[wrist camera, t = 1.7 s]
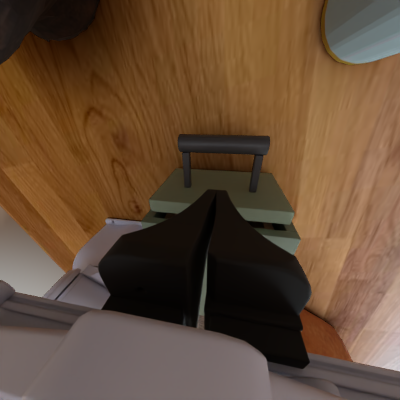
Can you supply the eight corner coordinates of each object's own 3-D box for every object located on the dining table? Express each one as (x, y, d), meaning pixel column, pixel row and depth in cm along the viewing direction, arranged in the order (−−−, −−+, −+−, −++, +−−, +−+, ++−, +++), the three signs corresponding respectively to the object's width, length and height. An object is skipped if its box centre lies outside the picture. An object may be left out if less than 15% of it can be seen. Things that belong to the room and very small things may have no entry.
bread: (218, 322, 41) (211, 438, 27) (287, 293, 30) (337, 462, 16) (267, 349, 44) (284, 465, 30) (346, 331, 33) (433, 501, 19)
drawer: (172, 126, 17) (136, 140, 11) (282, 128, 16) (320, 145, 9) (182, 244, 27) (167, 290, 20) (252, 253, 25) (260, 306, 18)
